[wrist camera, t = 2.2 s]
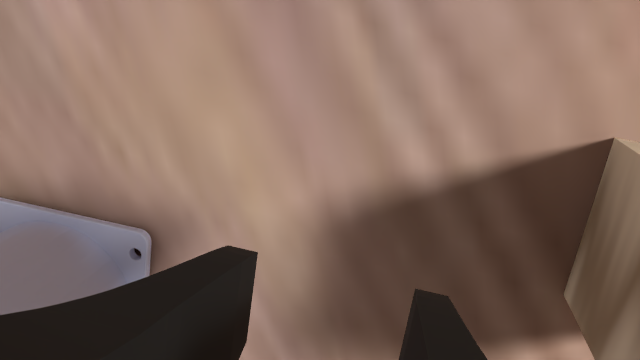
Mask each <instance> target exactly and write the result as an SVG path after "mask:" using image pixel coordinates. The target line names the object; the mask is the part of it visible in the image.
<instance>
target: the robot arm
mask: <svg viewBox="0 0 640 360" xmlns="http://www.w3.org/2000/svg"><path fill="white" fill-rule="evenodd" d="M151 243H152V242H151V237H150V235H149V234H148V233H147V232H146V231H145V230H143V229H140V228H135V227H131V226H126V225H122V224H117V223H113V222H108V221H104V220H100V219H95V218H91V217H86V216H82V215H77V214H73V213H68V212H64V211H59V210H55V209H50V208H46V207H41V206H37V205H33V204H28V203H24V202H19V201H15V200H10V199H6V198H1V197H0V360H239V358H240V355H241V353H242V351H243V348H244V346H245V344H246V341H247V333H248V325H249V317H250V309H251V302H252V294H253V286H254V278H255V270H256V262H257V254H258V252H254V251H249V250H245V249H241V248H236V247H232V246H225V247H222V248H219V249H216V250H213V251H211V252H208V253H206V254H203V255H201V256H198V257H196V258H194V259H191V260H189V261H186V262H184V263H181V264H179V265H176V266H174V267H171V268H169V269H166V270H164V271H161V272H159V273H156V274H154V275H151V276H149V275H150V259H151ZM134 248H136V249H138V250H139V251H140V252H141V256H138V255H137V254H136V253H135V251H134ZM399 360H487V358H486V357H485V355H484V354H483V352H482V351H481V349H480V348H479V346H478V345H477V343H476V342H475V340H474V339H473V337H472V335H471V334H470V332H469V330H468V329H467V327H466V326H465V324H464V322H463V321H462V319H461V317H460V315H459V314H458V312H457V310H456V309H455V307H454V305H453V304H452V302H451V300H450V299H449V297H448V296H444V295H440V294H436V293H431V292H427V291H423V290H418V289H415V292H414V296H413V301H412V305H411V309H410V314H409V318H408V322H407V327H406V331H405V335H404V340H403V344H402V348H401V352H400V357H399Z"/></svg>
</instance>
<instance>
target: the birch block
mask: <svg viewBox="0 0 640 360" xmlns="http://www.w3.org/2000/svg"><path fill="white" fill-rule="evenodd" d="M563 295H564V297H565V299H566V301H567V303H568V305H569V307H570V309H571V311H572V313H573V315H574V317H575V319H576V322H577V324H578V326H579V328H580V330H581V332H582V334H583V336H584V338H585V340H586V342H587V344H588V346H589V348H590V350H591V352H592V354H593V357H594V359H595V360H640V142H635V141H630V140H624V139H619V138H614V141H613V144H612V147H611V150H610V153H609V156H608V159H607V162H606V165H605V168H604V172H603V175H602V178H601V181H600V184H599V187H598V190H597V193H596V196H595V199H594V202H593V205H592V208H591V211H590V215H589V218H588V221H587V224H586V227H585V230H584V233H583V236H582V239H581V242H580V245H579V248H578V251H577V255H576V258H575V261H574V264H573V267H572V270H571V273H570V276H569V279H568V282H567V285H566V288H565V291H564V294H563Z"/></svg>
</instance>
